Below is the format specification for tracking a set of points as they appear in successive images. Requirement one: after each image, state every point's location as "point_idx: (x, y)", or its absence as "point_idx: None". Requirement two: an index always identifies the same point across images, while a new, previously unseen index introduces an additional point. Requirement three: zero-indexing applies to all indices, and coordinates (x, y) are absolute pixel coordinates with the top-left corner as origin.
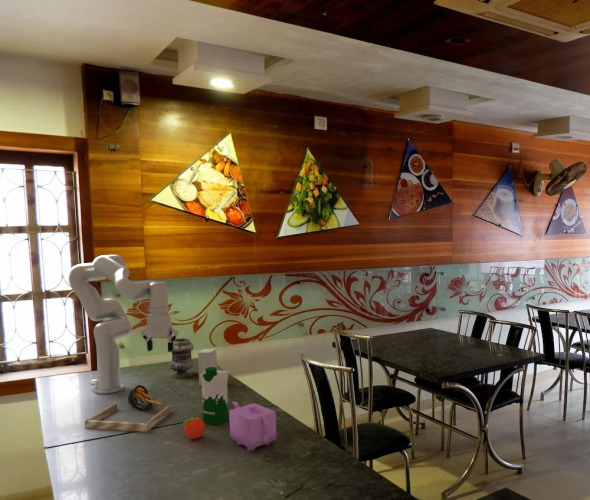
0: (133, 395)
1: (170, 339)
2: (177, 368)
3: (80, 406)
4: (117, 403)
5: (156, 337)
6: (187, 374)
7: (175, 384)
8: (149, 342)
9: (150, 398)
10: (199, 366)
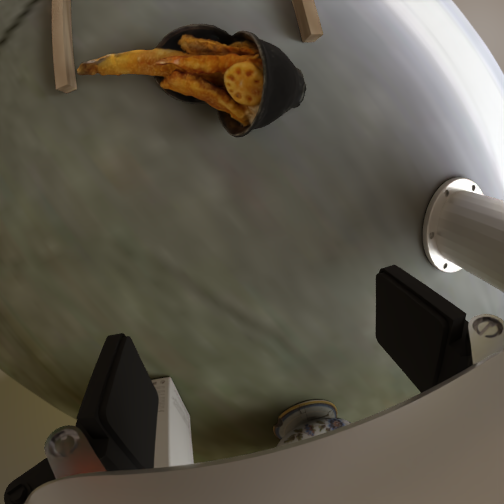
0: (242, 31)
1: (52, 466)
2: (310, 424)
3: (433, 57)
4: (310, 34)
5: (329, 434)
6: (283, 428)
7: (271, 359)
8: (441, 331)
9: (169, 78)
10: (163, 434)
